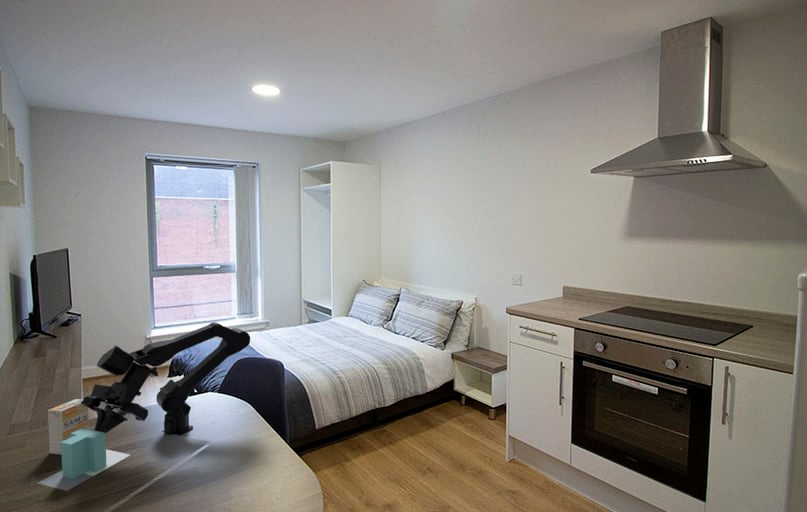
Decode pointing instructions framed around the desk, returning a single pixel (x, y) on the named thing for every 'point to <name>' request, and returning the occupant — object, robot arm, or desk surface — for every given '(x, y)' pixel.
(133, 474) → the desk surface
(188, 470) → the desk surface
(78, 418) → the supplement box
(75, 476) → the t block
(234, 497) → the desk surface
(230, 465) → the desk surface
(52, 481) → the board
